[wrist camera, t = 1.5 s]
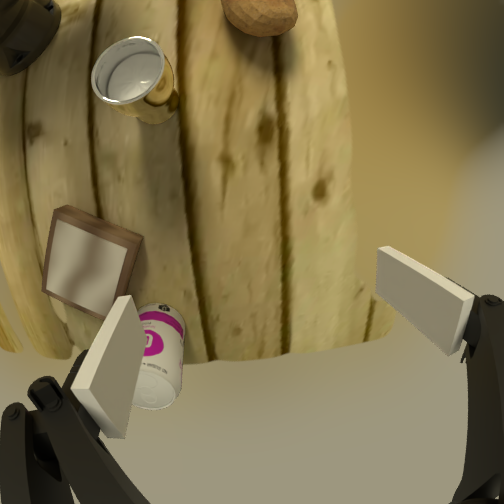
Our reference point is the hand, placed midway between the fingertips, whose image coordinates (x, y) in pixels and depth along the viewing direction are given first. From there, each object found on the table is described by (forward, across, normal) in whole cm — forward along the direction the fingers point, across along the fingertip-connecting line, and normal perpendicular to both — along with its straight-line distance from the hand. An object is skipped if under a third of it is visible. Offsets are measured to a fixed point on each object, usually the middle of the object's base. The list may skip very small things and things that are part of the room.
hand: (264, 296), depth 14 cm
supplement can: (+25, -14, -15) cm, 33 cm away
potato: (+25, +7, +30) cm, 39 cm away
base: (+25, -21, -3) cm, 33 cm away
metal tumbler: (+25, -7, +16) cm, 31 cm away
